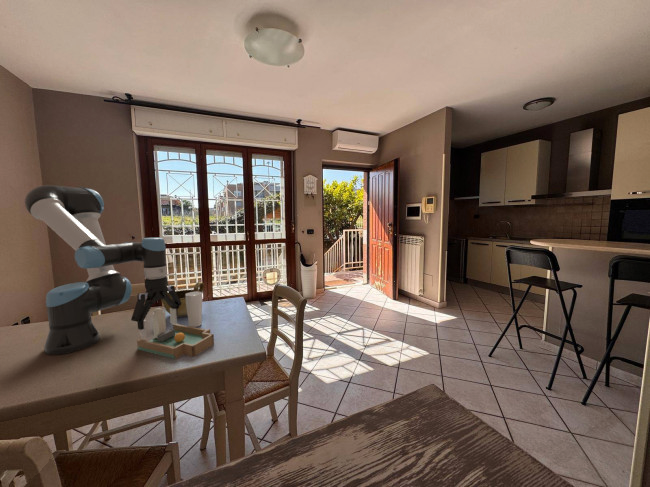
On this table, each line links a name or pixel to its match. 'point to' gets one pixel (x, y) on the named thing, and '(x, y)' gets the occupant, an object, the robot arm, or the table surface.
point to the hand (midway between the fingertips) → (159, 329)
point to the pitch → (179, 343)
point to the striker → (161, 326)
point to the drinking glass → (194, 308)
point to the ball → (179, 337)
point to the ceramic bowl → (183, 299)
